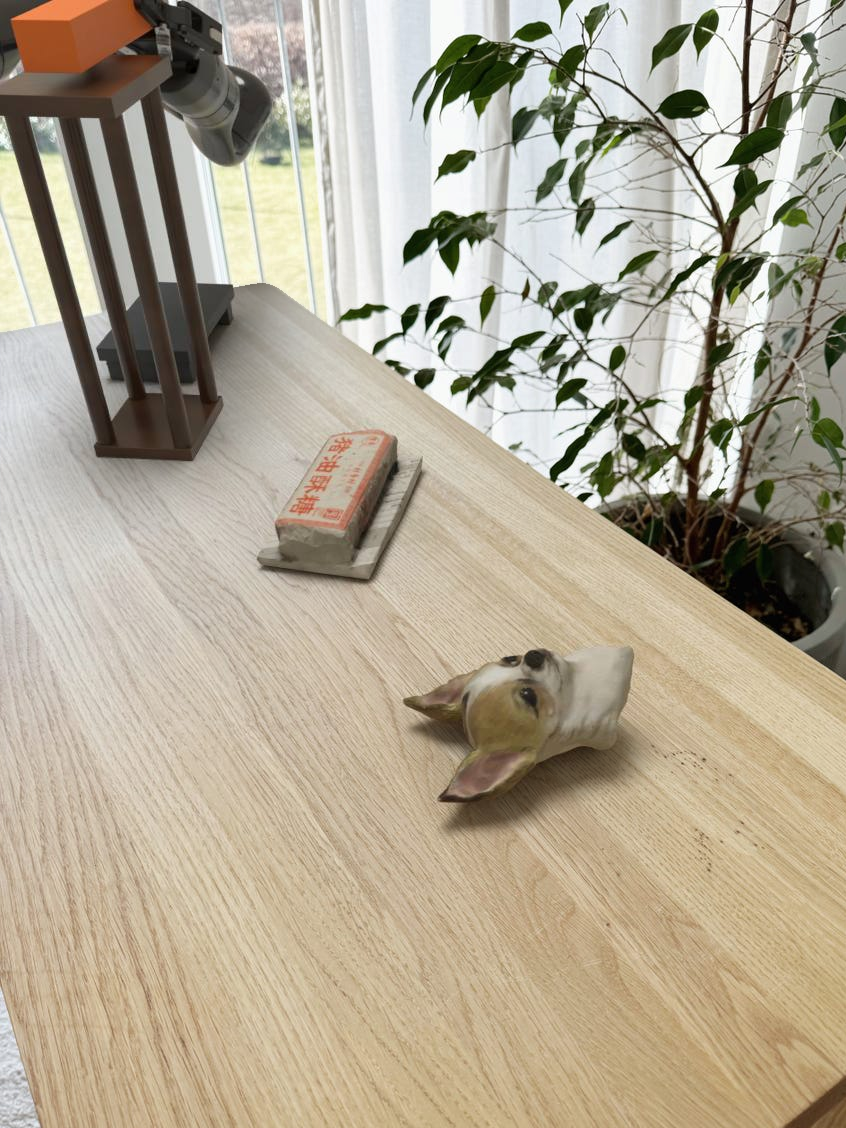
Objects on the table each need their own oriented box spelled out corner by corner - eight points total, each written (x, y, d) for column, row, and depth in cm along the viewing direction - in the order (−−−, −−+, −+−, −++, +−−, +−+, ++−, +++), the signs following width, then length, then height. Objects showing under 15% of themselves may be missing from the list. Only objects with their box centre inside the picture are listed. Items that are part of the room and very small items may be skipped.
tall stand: (139, 392, 107) (55, 52, 86) (230, 396, 107) (169, 55, 86) (90, 461, 97) (-19, 94, 76) (191, 466, 96) (110, 97, 75)
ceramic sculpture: (669, 683, 61) (431, 746, 58) (660, 776, 67) (444, 837, 64) (603, 581, 69) (390, 632, 66) (600, 672, 74) (405, 723, 72)
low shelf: (158, 313, 123) (150, 281, 120) (238, 316, 122) (233, 284, 119) (104, 382, 109) (95, 347, 106) (194, 386, 109) (187, 351, 106)
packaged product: (367, 535, 79) (248, 521, 81) (372, 584, 83) (257, 569, 84) (422, 424, 93) (319, 413, 94) (424, 469, 96) (325, 458, 97)
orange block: (116, 20, 91) (107, -26, 89) (165, 21, 91) (156, -25, 89) (24, 72, 76) (9, 19, 74) (81, 73, 76) (69, 20, 74)
